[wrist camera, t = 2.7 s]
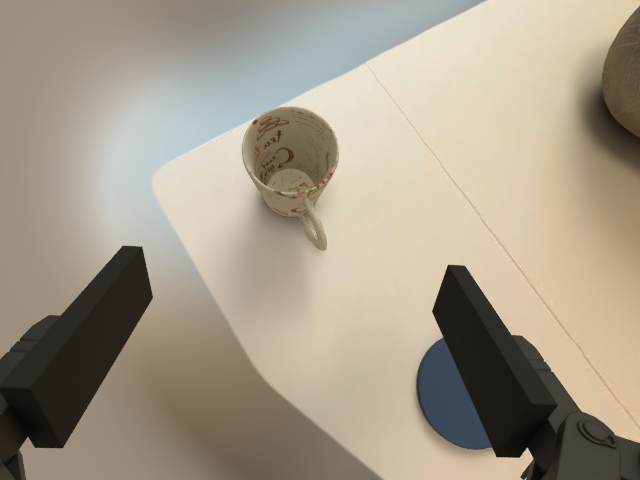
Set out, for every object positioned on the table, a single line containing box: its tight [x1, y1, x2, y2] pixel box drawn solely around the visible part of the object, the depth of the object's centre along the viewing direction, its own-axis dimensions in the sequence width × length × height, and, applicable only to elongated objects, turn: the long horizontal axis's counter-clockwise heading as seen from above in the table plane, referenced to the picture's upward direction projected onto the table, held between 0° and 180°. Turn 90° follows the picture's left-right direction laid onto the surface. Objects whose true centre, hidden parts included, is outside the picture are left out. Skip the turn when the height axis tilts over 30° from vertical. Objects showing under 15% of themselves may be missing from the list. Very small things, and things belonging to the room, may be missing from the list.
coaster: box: [417, 338, 492, 450], centre depth 35 cm, size 11×11×1 cm
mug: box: [242, 107, 339, 251], centre depth 34 cm, size 8×13×10 cm, turn 26°
